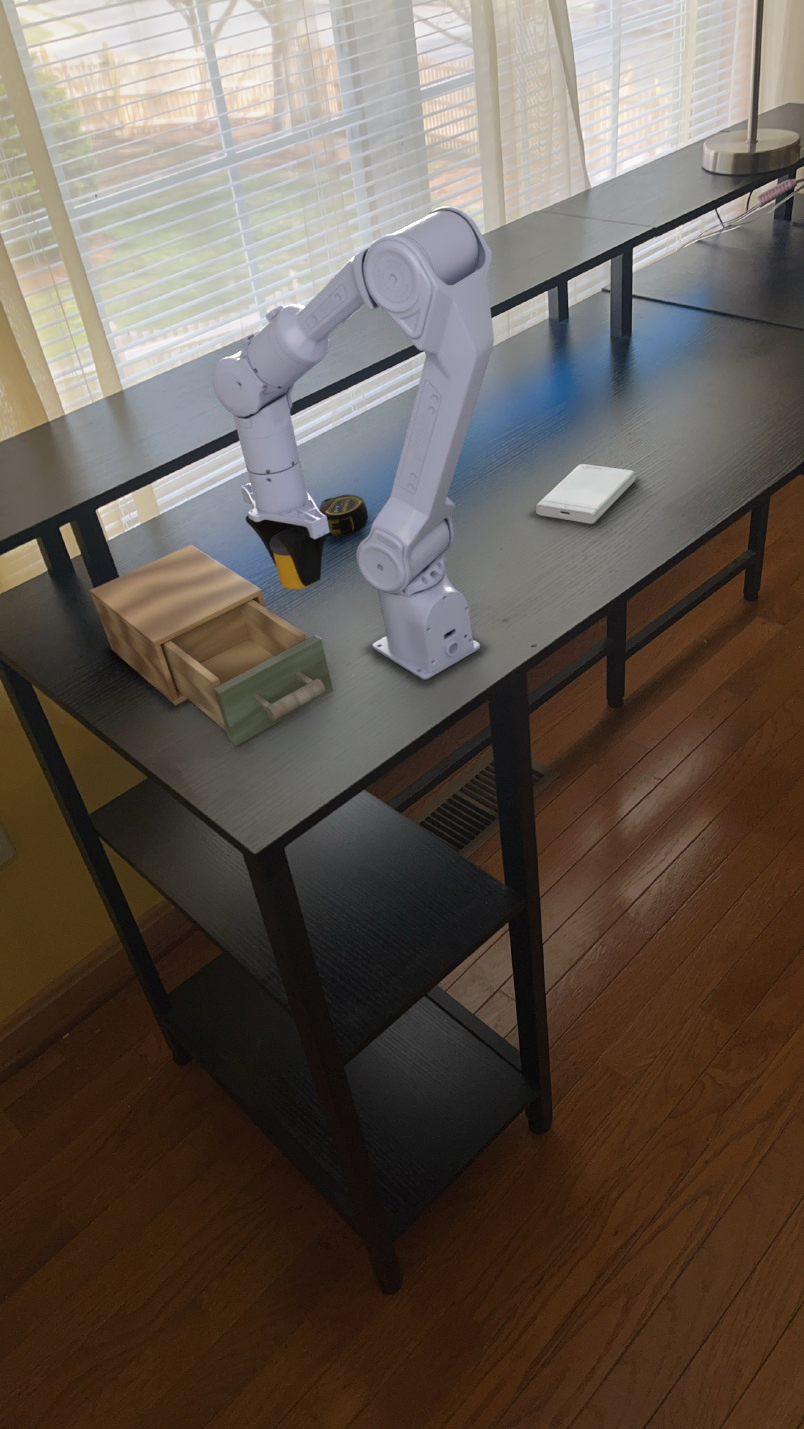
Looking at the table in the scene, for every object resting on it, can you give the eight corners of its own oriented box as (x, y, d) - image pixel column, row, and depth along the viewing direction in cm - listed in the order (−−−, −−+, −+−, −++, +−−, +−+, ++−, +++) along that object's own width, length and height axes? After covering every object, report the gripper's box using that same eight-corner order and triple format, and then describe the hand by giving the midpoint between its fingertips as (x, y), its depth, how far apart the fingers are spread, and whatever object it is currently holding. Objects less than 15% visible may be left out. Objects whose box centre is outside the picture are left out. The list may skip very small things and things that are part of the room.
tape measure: (326, 518, 141) (320, 493, 139) (374, 516, 139) (370, 491, 137) (314, 543, 136) (308, 517, 133) (364, 541, 134) (359, 515, 132)
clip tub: (294, 595, 115) (284, 554, 112) (271, 580, 118) (261, 540, 115) (329, 577, 117) (321, 536, 114) (306, 563, 120) (297, 523, 117)
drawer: (357, 708, 104) (345, 654, 100) (257, 765, 99) (241, 711, 95) (257, 638, 118) (244, 588, 114) (165, 686, 112) (147, 635, 108)
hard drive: (578, 463, 140) (535, 503, 132) (635, 470, 136) (594, 512, 128) (579, 474, 141) (536, 515, 133) (635, 482, 137) (594, 524, 129)
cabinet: (277, 651, 116) (261, 589, 111) (175, 705, 111) (153, 642, 106) (208, 603, 127) (190, 544, 122) (111, 650, 122) (89, 590, 117)
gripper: (207, 459, 112) (236, 568, 121) (278, 495, 103) (304, 611, 111) (261, 437, 115) (286, 544, 124) (335, 469, 106) (357, 584, 114)
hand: (298, 574), depth 117 cm, fingers closed on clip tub, 5 cm apart
